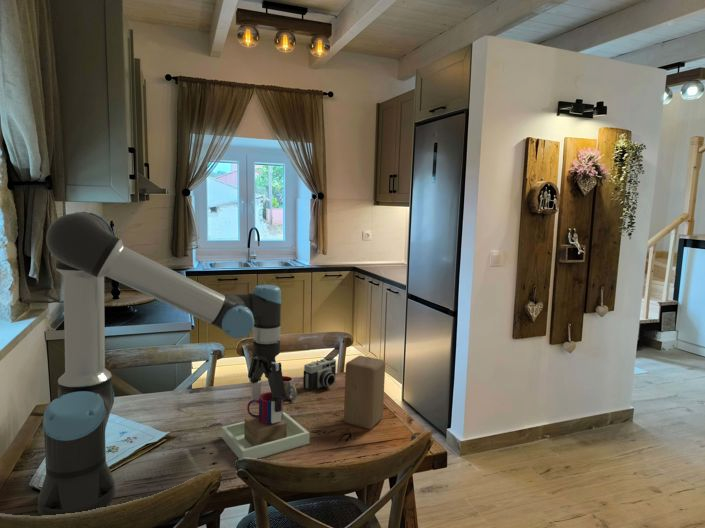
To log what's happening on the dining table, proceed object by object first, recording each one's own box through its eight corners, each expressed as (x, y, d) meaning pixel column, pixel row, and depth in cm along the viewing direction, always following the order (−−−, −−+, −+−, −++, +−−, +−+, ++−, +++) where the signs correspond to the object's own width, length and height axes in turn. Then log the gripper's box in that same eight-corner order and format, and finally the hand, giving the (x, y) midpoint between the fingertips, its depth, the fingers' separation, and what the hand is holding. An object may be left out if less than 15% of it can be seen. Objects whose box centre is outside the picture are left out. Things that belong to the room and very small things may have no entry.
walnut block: (257, 451, 129) (257, 430, 128) (244, 437, 136) (244, 418, 136) (286, 443, 134) (286, 423, 134) (272, 430, 142) (273, 411, 141)
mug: (272, 394, 171) (272, 376, 170) (289, 391, 174) (290, 373, 173) (285, 406, 160) (285, 388, 160) (303, 403, 164) (303, 384, 163)
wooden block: (342, 423, 150) (344, 362, 147) (356, 411, 159) (359, 354, 156) (370, 430, 145) (373, 368, 143) (383, 418, 154) (386, 359, 152)
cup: (283, 423, 133) (284, 400, 132) (247, 426, 131) (247, 403, 130) (281, 413, 140) (281, 391, 139) (246, 415, 137) (246, 393, 136)
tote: (242, 465, 123) (243, 451, 123) (221, 440, 136) (221, 426, 136) (309, 445, 135) (309, 432, 134) (283, 423, 148) (284, 411, 147)
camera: (314, 394, 171) (314, 367, 170) (300, 387, 178) (300, 362, 177) (344, 386, 180) (344, 361, 179) (329, 380, 187) (329, 355, 186)
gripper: (300, 350, 124) (298, 426, 126) (260, 328, 144) (259, 394, 147) (274, 354, 119) (272, 433, 122) (237, 331, 140) (236, 399, 142)
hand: (265, 412), depth 134 cm, fingers open, 13 cm apart
